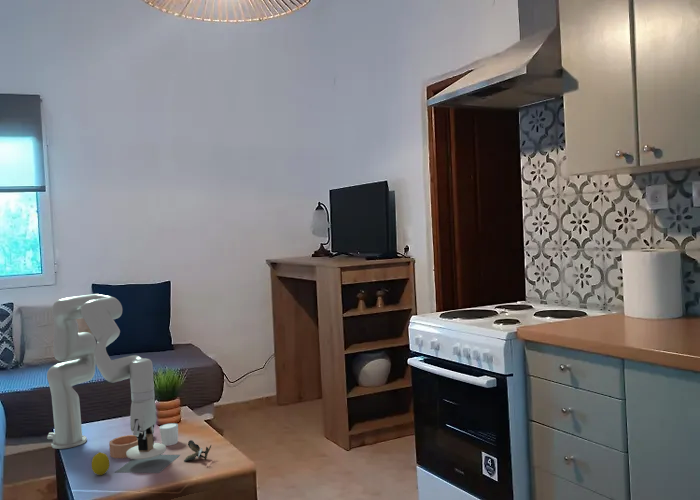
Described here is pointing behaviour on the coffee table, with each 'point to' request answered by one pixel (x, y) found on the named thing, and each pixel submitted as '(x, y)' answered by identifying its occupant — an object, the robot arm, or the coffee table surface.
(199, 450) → the eagle figurine
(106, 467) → the lemon
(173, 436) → the shot glass
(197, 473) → the coffee table surface
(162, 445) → the lid
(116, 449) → the bowl
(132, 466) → the mat
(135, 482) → the coffee table surface
